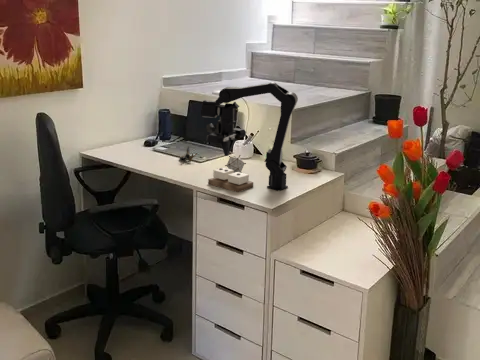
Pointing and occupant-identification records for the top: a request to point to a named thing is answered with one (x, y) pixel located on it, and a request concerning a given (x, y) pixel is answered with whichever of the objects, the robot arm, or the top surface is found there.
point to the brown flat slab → (229, 184)
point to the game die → (235, 164)
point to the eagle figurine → (188, 155)
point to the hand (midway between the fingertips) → (226, 155)
